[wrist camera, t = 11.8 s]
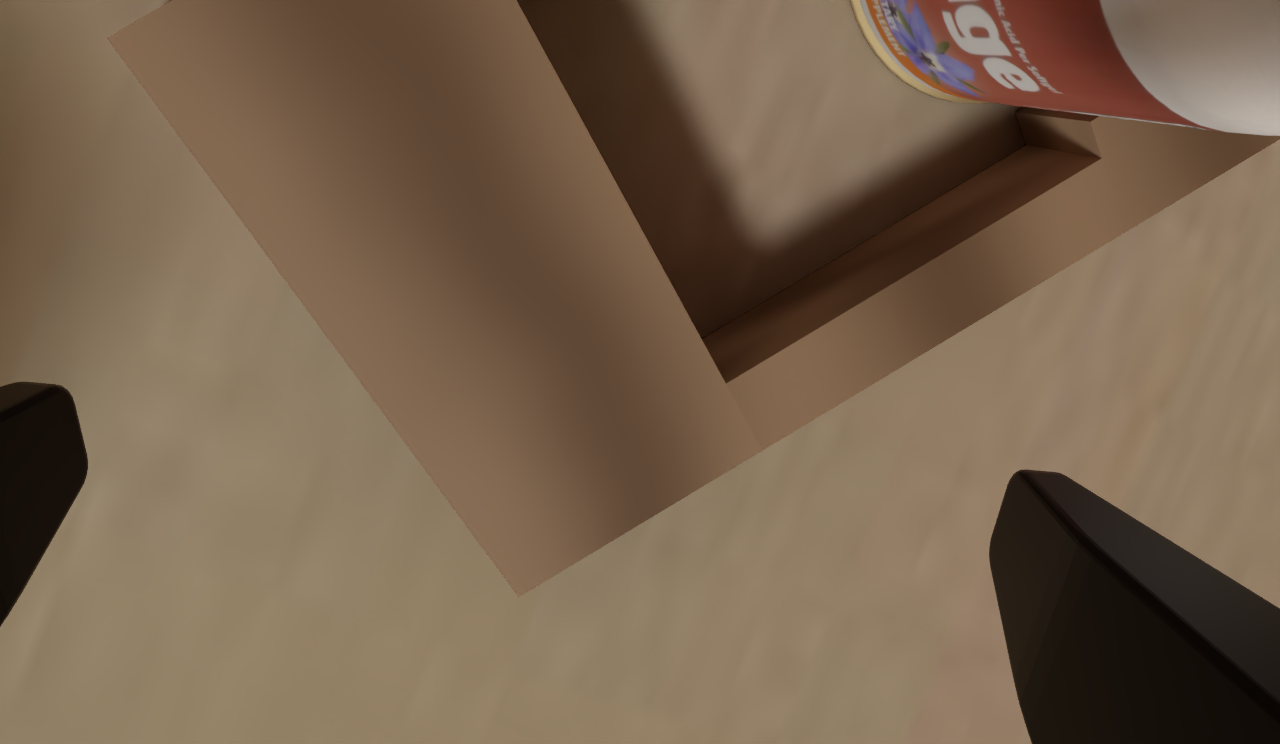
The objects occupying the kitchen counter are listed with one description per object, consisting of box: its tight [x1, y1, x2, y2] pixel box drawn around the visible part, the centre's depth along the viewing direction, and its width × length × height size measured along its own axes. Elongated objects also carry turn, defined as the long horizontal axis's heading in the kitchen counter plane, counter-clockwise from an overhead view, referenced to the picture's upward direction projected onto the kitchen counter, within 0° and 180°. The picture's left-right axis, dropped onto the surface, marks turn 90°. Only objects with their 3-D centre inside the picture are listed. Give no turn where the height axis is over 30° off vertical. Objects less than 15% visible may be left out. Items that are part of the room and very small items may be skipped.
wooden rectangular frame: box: [107, 0, 1280, 597], centre depth 18 cm, size 20×12×2 cm, turn 119°
